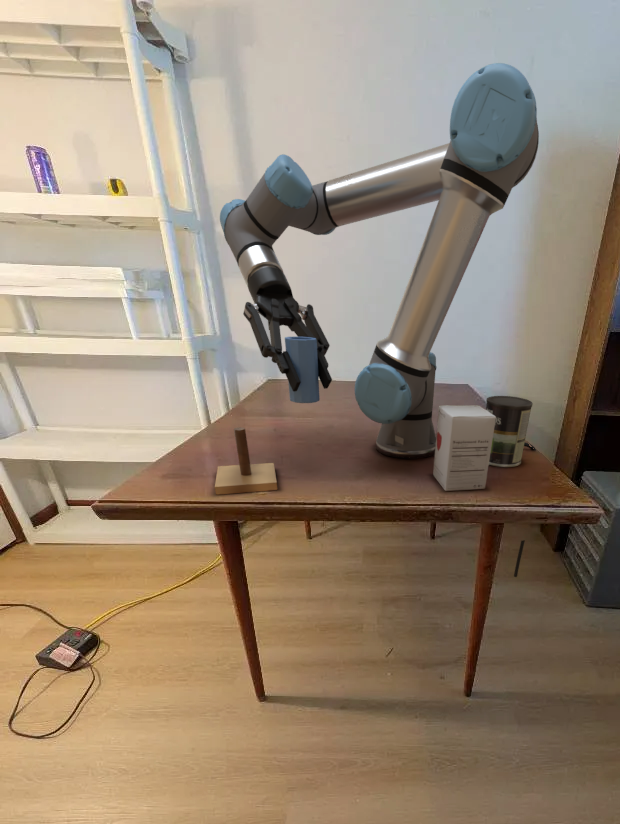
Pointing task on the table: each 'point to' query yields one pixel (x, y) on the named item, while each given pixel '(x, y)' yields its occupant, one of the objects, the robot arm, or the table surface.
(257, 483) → the stand
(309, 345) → the blue hollow tube
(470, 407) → the white product box
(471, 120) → the robot arm
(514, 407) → the coffee can
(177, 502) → the table surface
